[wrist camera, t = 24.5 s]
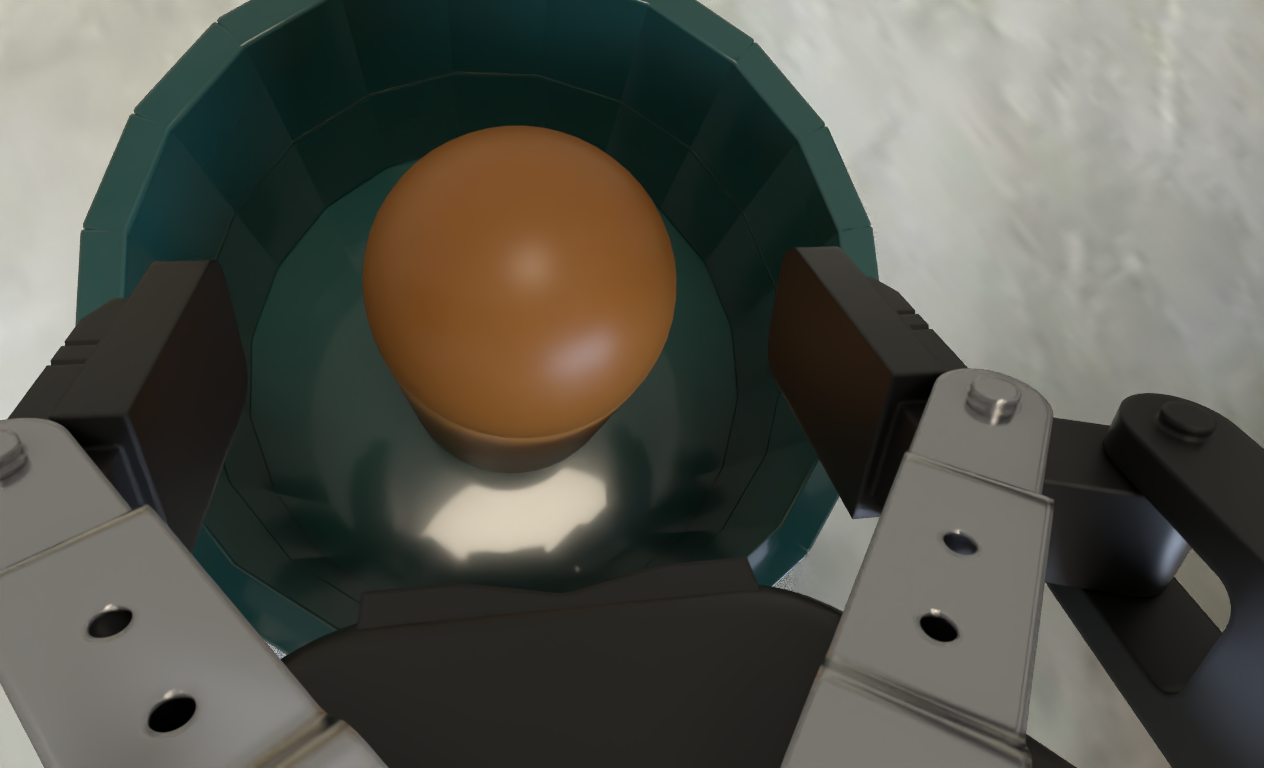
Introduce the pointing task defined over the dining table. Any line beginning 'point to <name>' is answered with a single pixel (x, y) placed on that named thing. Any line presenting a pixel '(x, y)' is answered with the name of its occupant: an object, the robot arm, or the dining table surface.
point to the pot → (336, 317)
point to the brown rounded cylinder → (518, 293)
